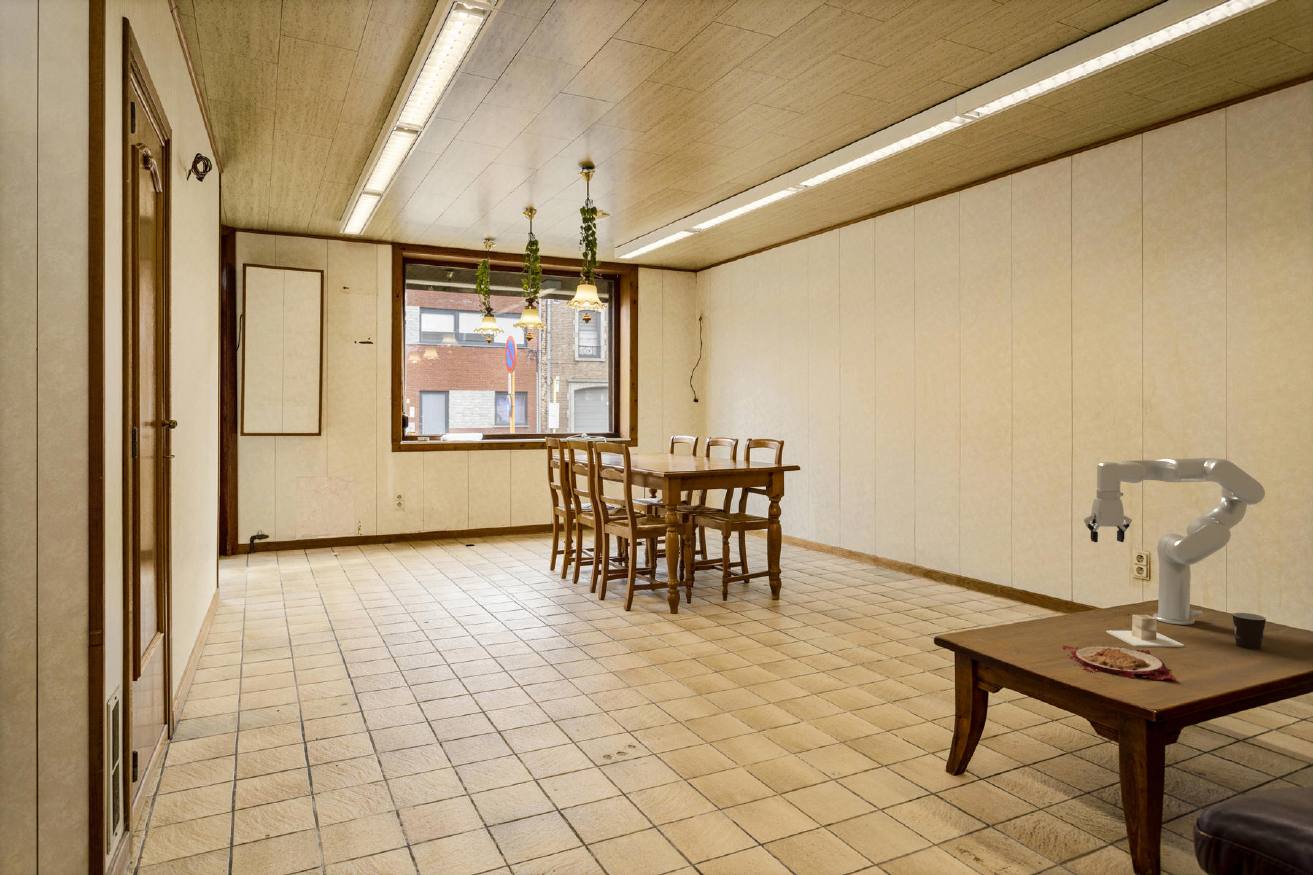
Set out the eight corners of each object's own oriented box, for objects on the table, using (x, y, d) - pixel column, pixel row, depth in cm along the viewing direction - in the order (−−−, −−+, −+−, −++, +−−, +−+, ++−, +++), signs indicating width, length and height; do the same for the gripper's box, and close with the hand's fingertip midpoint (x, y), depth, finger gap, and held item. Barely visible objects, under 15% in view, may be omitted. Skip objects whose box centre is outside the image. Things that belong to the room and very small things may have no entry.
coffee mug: (1260, 652, 243) (1260, 621, 243) (1227, 645, 250) (1228, 615, 250) (1272, 645, 250) (1273, 615, 250) (1240, 639, 257) (1241, 609, 257)
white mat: (1152, 632, 265) (1152, 630, 265) (1184, 646, 249) (1184, 644, 249) (1106, 632, 266) (1106, 630, 266) (1134, 646, 250) (1134, 644, 250)
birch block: (1146, 635, 260) (1147, 614, 260) (1156, 639, 255) (1156, 618, 255) (1131, 635, 260) (1132, 614, 260) (1141, 639, 255) (1141, 618, 255)
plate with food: (1148, 656, 242) (1148, 645, 242) (1177, 683, 217) (1177, 670, 217) (1062, 650, 250) (1062, 639, 250) (1079, 675, 224) (1079, 663, 224)
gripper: (1125, 494, 287) (1124, 539, 288) (1079, 494, 287) (1078, 540, 288) (1138, 496, 280) (1137, 543, 280) (1090, 496, 279) (1090, 543, 280)
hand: (1107, 541), depth 284 cm, fingers open, 9 cm apart
